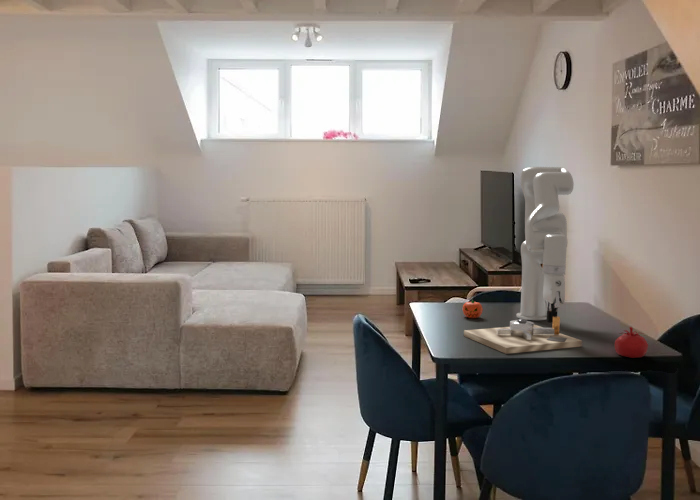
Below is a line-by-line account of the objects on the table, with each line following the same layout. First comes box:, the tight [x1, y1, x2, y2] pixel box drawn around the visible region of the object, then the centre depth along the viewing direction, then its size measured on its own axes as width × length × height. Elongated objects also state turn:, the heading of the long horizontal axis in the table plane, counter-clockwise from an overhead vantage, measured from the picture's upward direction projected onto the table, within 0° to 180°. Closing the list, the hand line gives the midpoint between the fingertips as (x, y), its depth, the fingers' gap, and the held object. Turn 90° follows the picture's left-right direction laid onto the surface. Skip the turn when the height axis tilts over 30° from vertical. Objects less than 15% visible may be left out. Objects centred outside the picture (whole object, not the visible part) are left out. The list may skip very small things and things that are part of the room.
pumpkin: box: [462, 299, 484, 319], centre depth 283 cm, size 8×8×7 cm
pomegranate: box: [614, 326, 649, 359], centre depth 227 cm, size 10×10×9 cm
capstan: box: [497, 315, 561, 340], centre depth 244 cm, size 22×17×6 cm
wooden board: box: [463, 324, 583, 355], centre depth 245 cm, size 30×26×2 cm
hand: (551, 321), depth 248 cm, fingers closed
